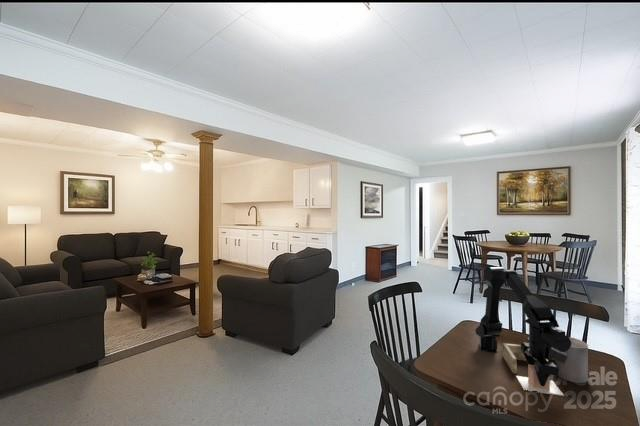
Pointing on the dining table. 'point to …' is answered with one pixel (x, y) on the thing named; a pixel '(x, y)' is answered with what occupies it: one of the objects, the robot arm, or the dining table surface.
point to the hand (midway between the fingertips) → (538, 380)
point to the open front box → (513, 355)
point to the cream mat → (529, 387)
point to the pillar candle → (575, 362)
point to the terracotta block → (536, 379)
